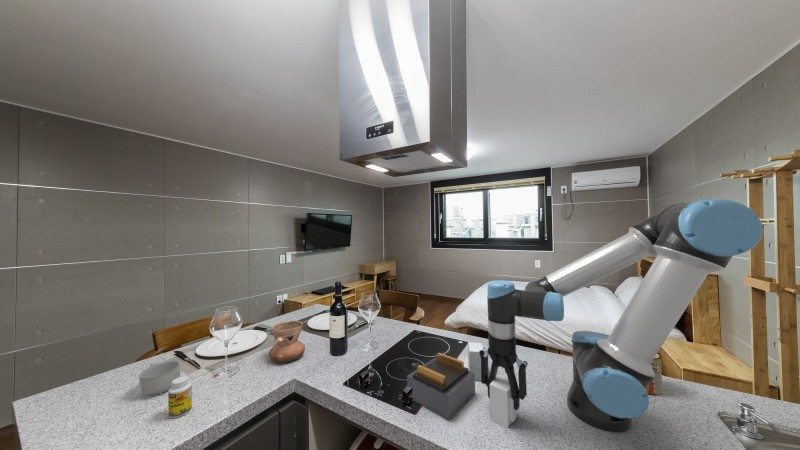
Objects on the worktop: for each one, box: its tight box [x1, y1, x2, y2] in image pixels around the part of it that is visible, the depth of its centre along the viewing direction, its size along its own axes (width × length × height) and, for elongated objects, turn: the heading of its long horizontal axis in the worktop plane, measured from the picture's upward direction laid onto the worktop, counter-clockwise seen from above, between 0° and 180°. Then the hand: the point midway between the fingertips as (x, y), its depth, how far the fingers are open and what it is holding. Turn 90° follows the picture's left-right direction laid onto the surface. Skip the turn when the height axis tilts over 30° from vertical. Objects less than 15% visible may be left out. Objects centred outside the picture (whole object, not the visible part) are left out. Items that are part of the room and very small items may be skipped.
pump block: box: [489, 374, 518, 429], centre depth 77 cm, size 5×7×10 cm
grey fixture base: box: [406, 352, 476, 422], centre depth 87 cm, size 16×16×10 cm
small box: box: [467, 341, 484, 382], centre depth 98 cm, size 8×6×10 cm
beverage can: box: [646, 353, 663, 397], centre depth 89 cm, size 9×9×12 cm
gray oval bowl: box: [138, 359, 181, 396], centre depth 94 cm, size 14×11×8 cm
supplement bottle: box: [167, 375, 193, 419], centre depth 81 cm, size 6×6×10 cm
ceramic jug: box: [268, 320, 306, 363], centre depth 115 cm, size 18×14×14 cm
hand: (503, 413), depth 76 cm, fingers closed on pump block, 5 cm apart
